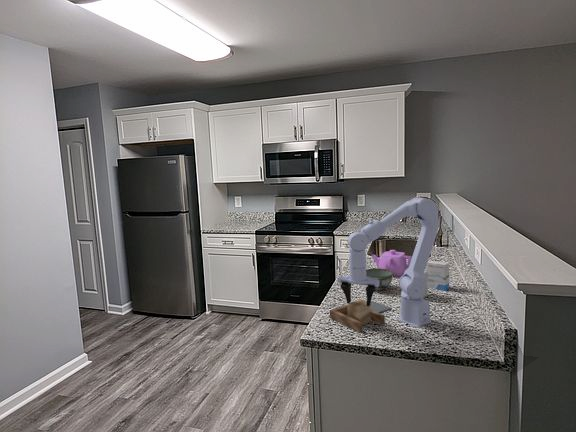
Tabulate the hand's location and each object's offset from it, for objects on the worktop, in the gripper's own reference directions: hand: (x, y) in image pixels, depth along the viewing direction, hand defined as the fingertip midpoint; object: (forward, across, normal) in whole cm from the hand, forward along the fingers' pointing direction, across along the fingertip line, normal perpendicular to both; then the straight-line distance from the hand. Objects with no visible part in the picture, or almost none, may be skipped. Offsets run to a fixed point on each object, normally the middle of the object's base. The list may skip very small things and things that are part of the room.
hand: (358, 304), depth 128 cm
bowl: (+7, +4, -38) cm, 39 cm away
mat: (+7, -1, -14) cm, 16 cm away
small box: (+7, -14, -35) cm, 39 cm away
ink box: (+7, -20, -49) cm, 54 cm away
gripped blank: (+7, 0, 0) cm, 7 cm away
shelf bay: (+7, +1, 0) cm, 7 cm away
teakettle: (+7, +4, -67) cm, 67 cm away
